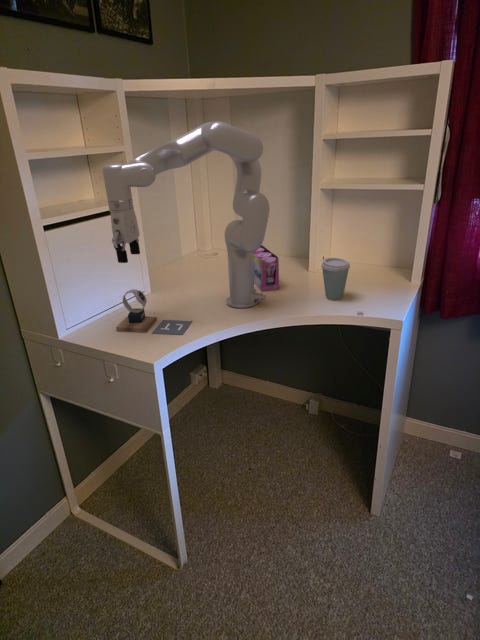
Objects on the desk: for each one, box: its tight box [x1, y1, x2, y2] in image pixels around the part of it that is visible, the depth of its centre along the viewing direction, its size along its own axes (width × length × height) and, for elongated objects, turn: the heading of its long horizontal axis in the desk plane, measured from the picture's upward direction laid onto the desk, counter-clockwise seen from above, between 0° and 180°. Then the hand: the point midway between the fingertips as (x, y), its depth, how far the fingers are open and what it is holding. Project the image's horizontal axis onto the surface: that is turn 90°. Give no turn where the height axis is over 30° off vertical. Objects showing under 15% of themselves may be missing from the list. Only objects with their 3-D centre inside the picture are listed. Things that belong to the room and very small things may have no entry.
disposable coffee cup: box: [321, 257, 351, 301], centre depth 163 cm, size 11×11×15 cm
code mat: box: [151, 319, 193, 336], centre depth 148 cm, size 11×11×1 cm
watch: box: [122, 289, 147, 323], centre depth 149 cm, size 6×8×11 cm
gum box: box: [253, 244, 280, 292], centre depth 184 cm, size 24×8×14 cm, turn 15°
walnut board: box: [115, 315, 158, 333], centre depth 150 cm, size 11×10×2 cm
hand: (129, 258), depth 141 cm, fingers open, 9 cm apart
